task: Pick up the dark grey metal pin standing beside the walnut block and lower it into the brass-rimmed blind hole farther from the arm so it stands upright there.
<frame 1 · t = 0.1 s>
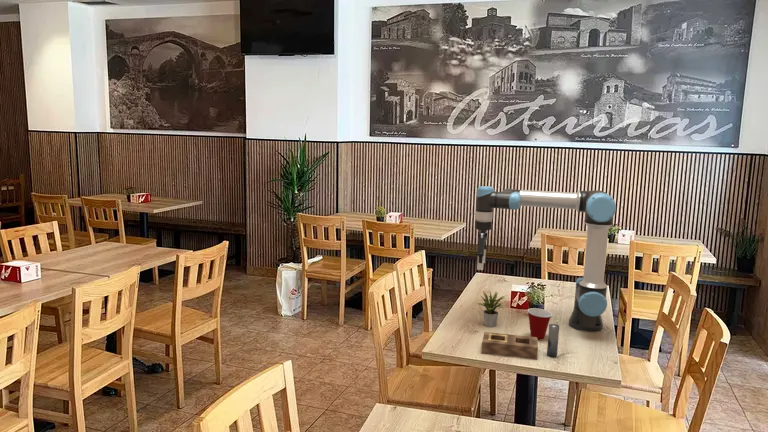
hand: (481, 266, 276), 28 cm above the table, tool pointing down, fingers open, 13 cm apart
pin: (551, 355, 245), on the table
house plant: (491, 326, 279), on the table
hole block: (509, 351, 249), on the table
plastic cup: (538, 337, 266), on the table
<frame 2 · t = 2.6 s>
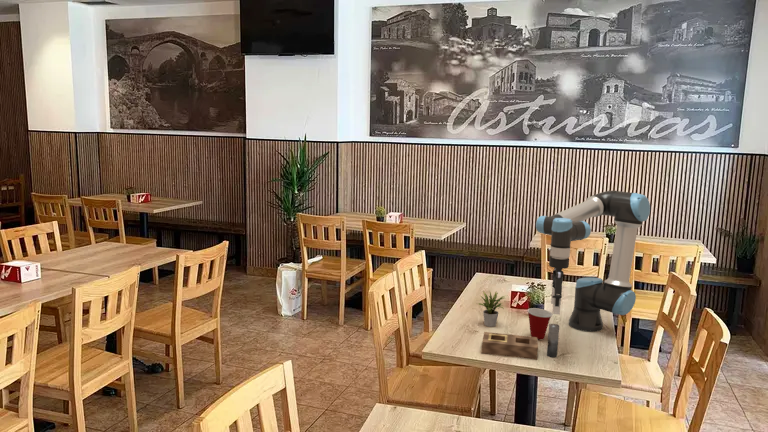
hand: (555, 308, 242), 20 cm above the table, tool pointing down, fingers open, 13 cm apart
nothing on the table moved.
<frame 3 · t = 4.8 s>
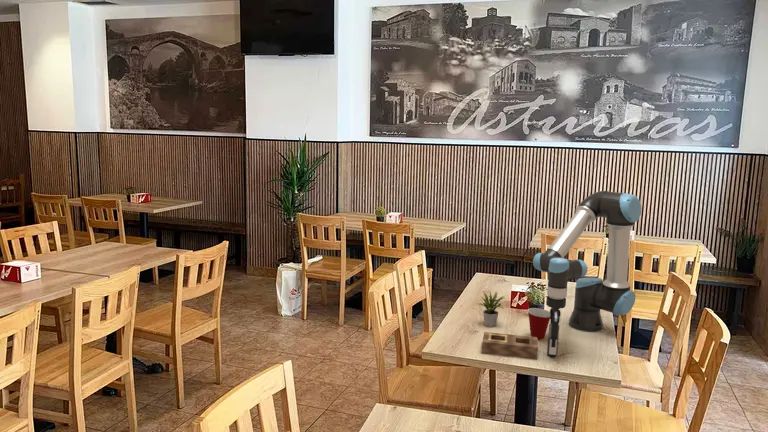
hand: (552, 351, 245), 2 cm above the table, tool pointing down, fingers closed on pin, 4 cm apart
pin: (551, 355, 245), on the table, touching gripper
everything else where it was.
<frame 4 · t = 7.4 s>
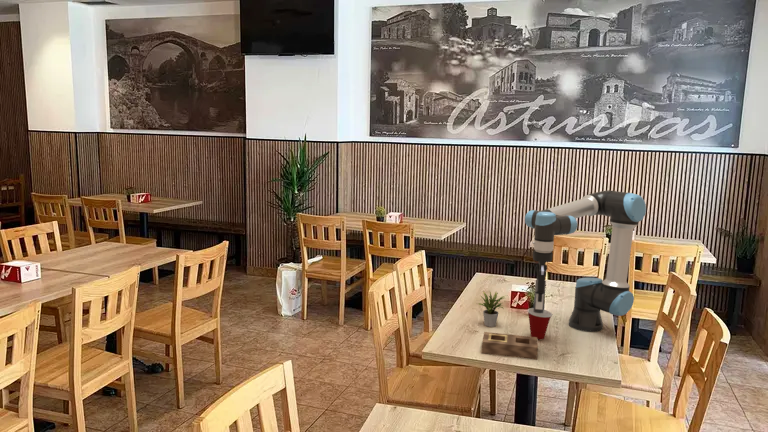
hand: (538, 307, 243), 20 cm above the table, tool pointing down, fingers closed on pin, 4 cm apart
pin: (538, 311, 244), point 18 cm above the table, touching gripper
everything else where it was.
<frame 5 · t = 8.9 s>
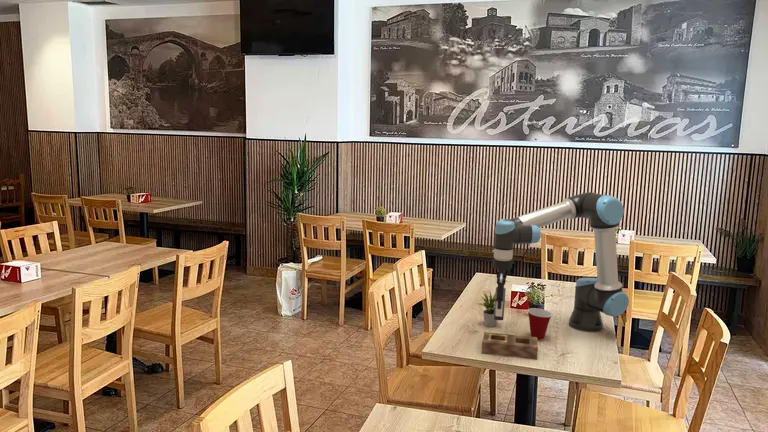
hand: (498, 314, 248), 15 cm above the table, tool pointing down, fingers closed on pin, 4 cm apart
pin: (498, 318, 248), point 13 cm above the table, touching gripper
everything else where it was.
when the fingers open (7 cm above the table, at t = 10.2 s): pin drops 4 cm, resting on hole block.
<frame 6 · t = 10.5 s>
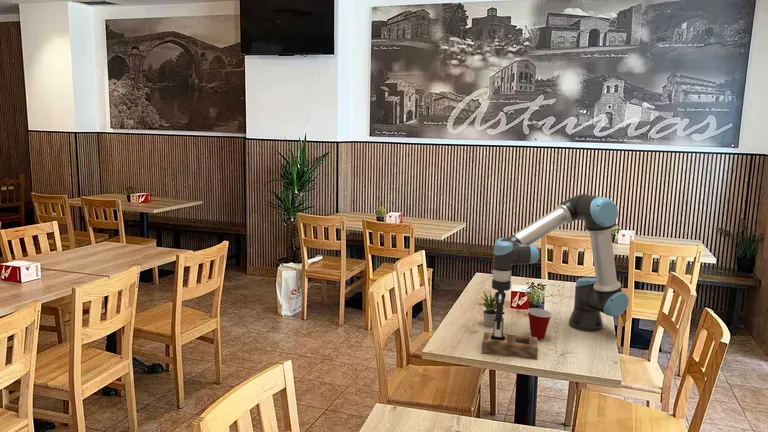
hand: (498, 332, 249), 7 cm above the table, tool pointing down, fingers open, 7 cm apart
pin: (497, 348, 251), point 1 cm above the table, touching hole block
everything else where it was.
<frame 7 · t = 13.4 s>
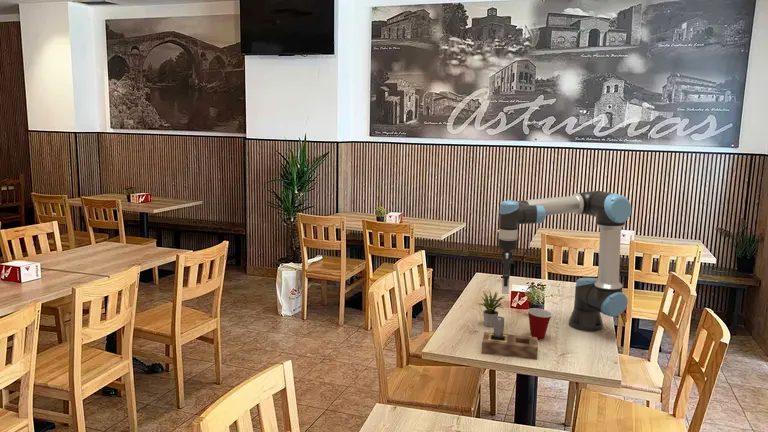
hand: (505, 289, 250), 25 cm above the table, tool pointing down, fingers open, 13 cm apart
nothing on the table moved.
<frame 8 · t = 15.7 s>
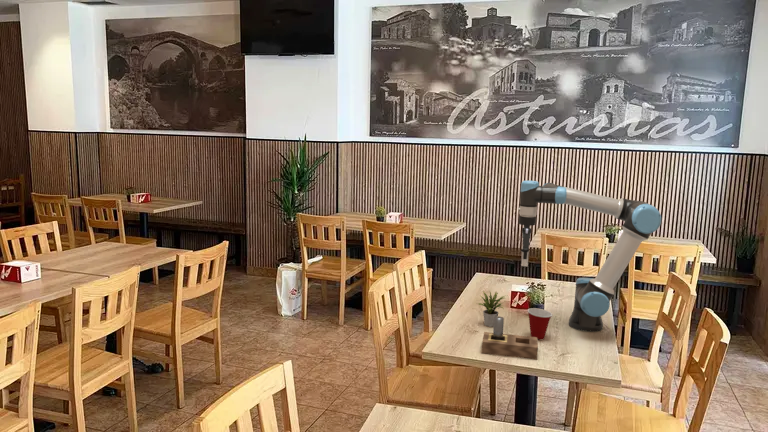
hand: (524, 262, 269), 32 cm above the table, tool pointing down, fingers open, 13 cm apart
nothing on the table moved.
at the end: pin 0.5 cm from the target spot on the hole block, point 0.6 cm above the hole block's base; pin tilted 3°; the gripper is holding nothing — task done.
